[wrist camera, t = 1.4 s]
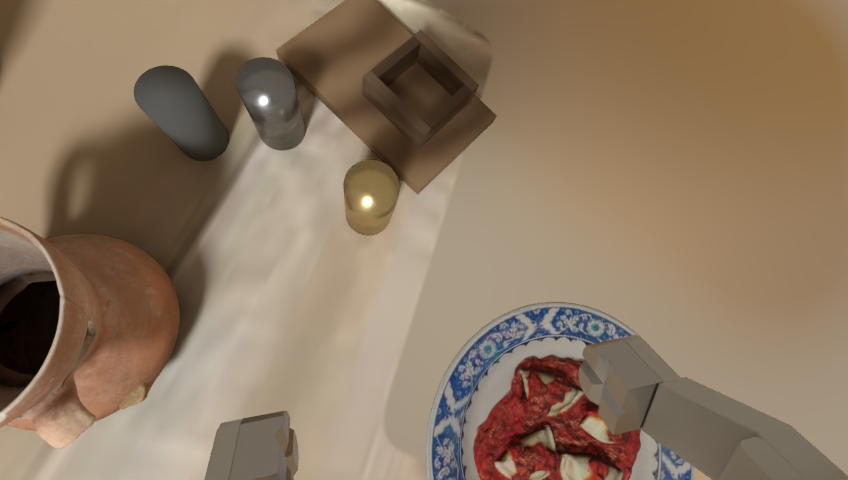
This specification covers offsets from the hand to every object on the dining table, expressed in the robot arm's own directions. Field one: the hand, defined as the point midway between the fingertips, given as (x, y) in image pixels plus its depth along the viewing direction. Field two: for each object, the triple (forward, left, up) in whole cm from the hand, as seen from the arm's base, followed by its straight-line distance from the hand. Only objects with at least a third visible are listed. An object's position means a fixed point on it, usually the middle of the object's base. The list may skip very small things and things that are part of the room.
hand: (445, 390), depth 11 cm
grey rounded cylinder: (-26, +2, -27) cm, 37 cm away
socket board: (-18, +19, -27) cm, 38 cm away
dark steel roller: (-22, +8, -27) cm, 36 cm away
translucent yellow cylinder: (-10, +8, -27) cm, 30 cm away
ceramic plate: (+18, +5, -28) cm, 33 cm away
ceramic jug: (-19, -15, -27) cm, 36 cm away
